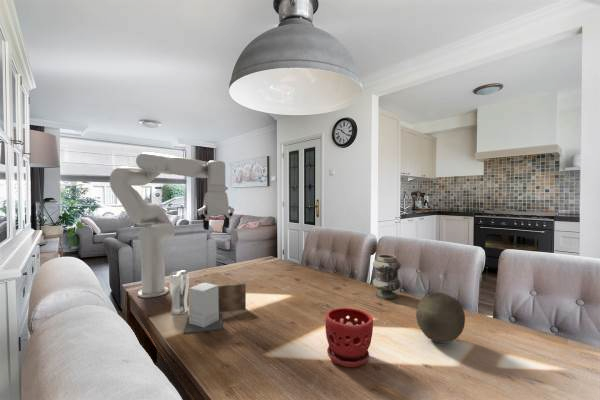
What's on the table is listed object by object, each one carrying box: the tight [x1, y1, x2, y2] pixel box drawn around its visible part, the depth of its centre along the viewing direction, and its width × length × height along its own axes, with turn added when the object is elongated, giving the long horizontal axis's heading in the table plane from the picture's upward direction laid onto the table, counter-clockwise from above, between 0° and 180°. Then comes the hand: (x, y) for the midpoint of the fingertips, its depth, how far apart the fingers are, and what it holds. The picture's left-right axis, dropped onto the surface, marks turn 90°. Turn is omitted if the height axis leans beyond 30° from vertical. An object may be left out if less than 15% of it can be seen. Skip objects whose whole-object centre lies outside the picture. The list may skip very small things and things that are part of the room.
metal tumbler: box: [168, 270, 190, 316], centre depth 113 cm, size 7×7×15 cm
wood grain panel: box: [217, 282, 247, 313], centre depth 113 cm, size 18×1×10 cm, turn 105°
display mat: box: [183, 312, 223, 335], centre depth 103 cm, size 12×12×1 cm
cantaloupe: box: [415, 292, 466, 344], centre depth 90 cm, size 14×14×15 cm
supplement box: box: [188, 282, 220, 328], centre depth 103 cm, size 7×7×13 cm
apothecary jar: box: [372, 254, 402, 301], centre depth 131 cm, size 12×12×18 cm
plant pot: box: [324, 307, 374, 368], centre depth 82 cm, size 13×13×12 cm
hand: (216, 228), depth 127 cm, fingers open, 9 cm apart
